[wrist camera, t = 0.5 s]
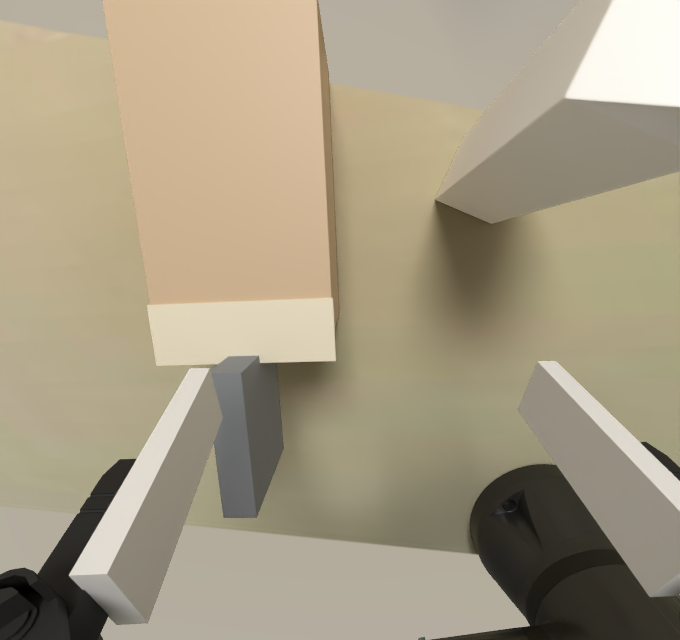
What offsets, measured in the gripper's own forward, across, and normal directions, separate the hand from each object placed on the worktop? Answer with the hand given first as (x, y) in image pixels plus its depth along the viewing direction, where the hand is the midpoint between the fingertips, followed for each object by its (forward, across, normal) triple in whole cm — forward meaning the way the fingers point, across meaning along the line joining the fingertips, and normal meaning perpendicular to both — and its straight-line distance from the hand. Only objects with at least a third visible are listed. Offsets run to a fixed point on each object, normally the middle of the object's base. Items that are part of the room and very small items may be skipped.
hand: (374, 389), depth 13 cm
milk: (+22, -12, -5) cm, 26 cm away
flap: (+13, +7, -2) cm, 15 cm away
